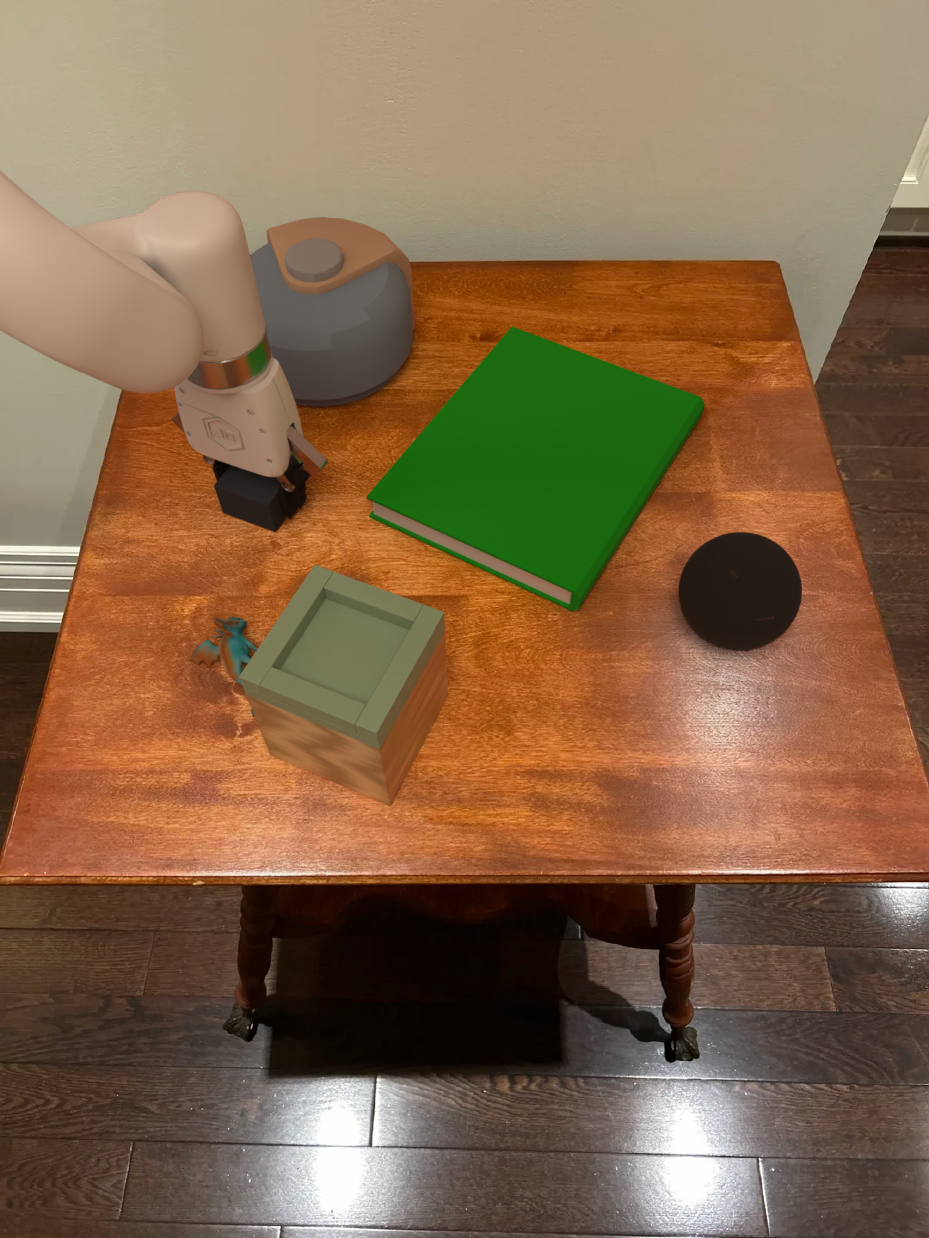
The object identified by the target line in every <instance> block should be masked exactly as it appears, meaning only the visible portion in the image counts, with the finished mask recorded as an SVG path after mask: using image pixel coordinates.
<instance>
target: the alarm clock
mask: <svg viewBox="0 0 929 1238" xmlns="http://www.w3.org/2000/svg"><path fill="white" fill-rule="evenodd" d="M266 239H267V243H266V244H264V245H262V246H260V247H259V248H258V249H257V250H255V251H254V252H252V253H251V254H250V258H251V262H252V267H253V271H254V276H255V280H256V285H257V289H258V294H259V298H260V303H261V307H262V312H263V316H264V321H265V325H266V330H267V334H268V339H269V343H270V348H271V352H272V357H273V358H275V359H276V360H278V362H279V364H280V366H281V368H282V370H283V372H284V374H285V377H286V379H287V381H288V384H289V386H290V389H291V392H292V394H293V397H294V400H295V403H296V405H299V406H309V407H317V408H319V407H331V406H332V407H333V406H342V405H346V404H348V403H352V402H356V401H360V400H362V399H364V398H366V397H368V396H370V395H372V394H375V393H377V392H378V391H380V390H381V389H382V388H383V387H385V386H386V385H387V384H388V383H389V382H390V381H392V380H393V379H394V377H395V376H396V374H397V373H398V371H399V370H401V367H402V366H403V365H404V363H405V362H406V360H407V358H408V357H409V355H410V353H411V349H412V345H413V342H414V330H415V329H416V316H415V313H416V312H415V301H414V284H413V270H412V267H411V264H410V263H411V262H410V259H409V257H408V256H407V255H406V254H405V253H404V252H403V250H401V248H399V246H398V245H397V244H395V242H394V241H392V239H391V238H390V237H388V235H386V234H385V232H383V231H380V230H378V229H376V228H374V227H372V226H369V225H367V224H364V223H361V222H357V221H353V220H349V219H345V218H343V217H342V218H340V217H339V218H338V217H326V216H321V217H320V216H319V217H318V216H317V217H309V218H300V219H297V220H294V221H289V222H287V223H283V224H279V225H274V226H272V227H269V228H267V229H266Z"/></svg>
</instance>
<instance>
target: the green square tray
mask: <svg viewBox="0 0 929 1238" xmlns="http://www.w3.org/2000/svg"><path fill="white" fill-rule="evenodd" d="M444 632H445V633H446V620H445V612H444V611H443V610H440V609H437V608H435V607H433V606H430V605H427V604H423V603H421V602H418V601H415V600H413V599H410V598H408V597H405V596H402V595H400V594H397V593H394V592H391V591H388V590H386V589H383V588H381V587H378V586H375V585H372V584H369V583H366V582H364V581H361V580H358V579H355V578H353V577H349V576H348V575H345V574H342V573H340V572H336V571H333V570H331V569H328V568H326V567H323V566H320V565H317V564H314V565H313V566H312V567H311V569H310V571H309V572H308V574H307V575H306V576H305V578H304V580H302V582H301V584H300V586H299V587H298V588H297V590H296V591H295V593H294V594H293V596H292V597H291V599H290V601H289V602H288V603H287V605H286V606H285V608H284V609H283V610H282V612H281V614H280V615H279V617H278V618H277V620H275V623H274V624H273V625H272V627H271V628H270V630H269V631H268V632H267V634H266V636H265V638H264V639H263V641H262V642H261V643H260V645H259V646H258V647H257V651H254V654H253V656H251V657H252V658H251V660H250V661H249V663H248V664H247V663H246V666H244V668H245V669H244V670H243V672H241V675H240V676H239V678H240V681H241V683H242V685H241V686H242V689H243V691H244V694H245V696H246V695H249V696H251V697H253V698H256V699H258V700H261V701H263V702H266V703H268V704H270V705H273V706H275V707H278V708H280V709H283V710H285V711H288V712H290V713H292V714H295V715H297V716H300V717H302V718H305V719H307V720H309V721H312V722H314V723H317V724H319V725H322V726H324V727H326V728H329V729H331V730H334V731H336V732H339V733H341V734H343V735H346V736H348V737H351V738H353V739H356V740H358V741H360V742H363V743H365V744H368V745H370V746H373V747H375V748H377V749H380V748H381V746H382V744H383V743H384V741H385V739H386V737H387V735H388V733H389V732H390V730H391V728H392V726H393V724H394V723H395V721H396V719H397V717H398V715H399V713H400V712H401V710H402V708H403V706H404V704H405V703H406V701H407V699H408V697H409V695H410V693H411V692H412V690H413V688H414V686H415V684H416V683H417V681H418V679H419V677H420V675H421V674H422V672H423V670H424V668H425V666H426V664H427V663H428V661H429V659H430V657H431V655H432V654H433V652H434V650H435V648H436V646H437V644H438V643H439V641H440V639H441V637H442V635H443V634H444Z"/></svg>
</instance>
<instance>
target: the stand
mask: <svg viewBox="0 0 929 1238" xmlns="http://www.w3.org/2000/svg"><path fill="white" fill-rule="evenodd" d="M446 641H447V640H446V631H445V632H444V634H443V635H442V637H441V639H440V641H439V643H438V644H437V646H436V648H435V650H434V652H433V654H432V655H431V657H430V659H429V661H428V663H427V664H426V666H425V668H424V670H423V672H422V674H421V675H420V677H419V679H418V681H417V683H416V684H415V686H414V688H413V690H412V692H411V693H410V695H409V697H408V699H407V701H406V703H405V704H404V706H403V708H402V710H401V712H400V713H399V715H398V717H397V719H396V721H395V723H394V724H393V726H392V728H391V730H390V732H389V733H388V735H387V737H386V739H385V741H384V743H383V744H382V746H381V748H380V749H377V748H375V747H373V746H370V745H368V744H365V743H363V742H360V741H358V740H356V739H353V738H351V737H348V736H346V735H343V734H341V733H339V732H336V731H334V730H331V729H329V728H326V727H324V726H322V725H319V724H317V723H314V722H312V721H309V720H307V719H305V718H302V717H300V716H297V715H295V714H292V713H290V712H288V711H285V710H283V709H280V708H278V707H275V706H273V705H270V704H268V703H266V702H263V701H261V700H258V699H256V698H253V697H251V696H249V695H246V694H245V696H246V699H247V701H248V703H249V706H250V709H251V708H252V711H253V713H254V718H255V721H256V723H257V726H258V728H259V731H260V734H261V736H262V738H263V741H264V743H265V746H266V748H267V751H268V753H269V755H270V756H271V757H274V758H276V759H278V760H281V761H283V762H286V763H288V764H290V765H292V766H294V767H297V768H299V769H302V770H304V771H307V772H308V773H311V774H313V775H316V776H318V777H321V778H323V779H325V780H328V781H330V782H333V783H334V784H337V785H339V786H341V787H344V788H347V789H348V790H351V791H353V792H356V793H358V794H360V795H363V796H365V797H367V798H370V799H373V800H375V801H377V802H379V803H382V804H384V805H386V806H388V807H391V806H392V804H393V802H394V801H395V798H396V796H397V795H398V793H399V791H400V789H401V786H402V785H403V783H404V782H405V778H406V777H407V775H408V773H409V772H410V770H411V768H412V765H413V764H414V762H415V761H416V758H417V756H418V754H419V752H420V750H421V749H422V747H423V745H424V743H425V742H426V739H427V737H428V735H429V734H430V732H431V729H432V727H433V726H434V723H435V722H436V720H437V718H438V717H439V714H440V713H441V710H442V709H443V706H444V704H445V703H446V701H447V699H448V697H449V683H448V681H449V680H448V663H447V660H448V659H447V642H446Z"/></svg>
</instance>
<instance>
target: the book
mask: <svg viewBox="0 0 929 1238" xmlns="http://www.w3.org/2000/svg"><path fill="white" fill-rule="evenodd" d="M705 405H706V403H705V401H704V400H703V398H702V397H701V396H700V395H698V394H694V393H693V392H692V393H691V392H689V391H686V390H683V389H681V388H678V387H675V386H673V385H670V384H667V383H665V382H662V381H660V380H657V379H654V378H652V377H649V376H646V375H643V374H641V373H638V372H635V371H633V370H630V369H627V368H625V367H622V366H620V365H617V364H614V363H611V362H609V361H606V360H603V359H601V358H598V357H595V356H593V355H590V354H587V353H585V352H582V351H580V350H578V349H574V348H571V347H569V346H565V345H563V344H561V343H558V342H555V341H552V340H550V339H547V338H545V337H542V336H539V335H536V334H533V333H531V332H530V331H529V332H528V331H526V330H523V329H521V328H518V327H515V326H510V328H509V329H508V330H507V331H506V333H504V335H503V336H502V337H501V338H500V339H499V341H498V342H496V344H495V346H493V348H492V349H491V350H490V351H489V353H488V354H486V356H485V357H484V359H482V361H480V363H479V364H478V365H477V366H476V368H474V370H473V371H472V372H471V373H470V375H469V376H468V377H467V378H466V379H465V381H464V382H463V383H462V384H461V385H460V386H459V387H458V389H457V390H456V391H455V392H454V393H453V395H451V397H450V398H449V399H448V400H447V401H446V402H445V404H444V405H443V406H442V407H441V408H440V410H439V411H438V412H437V414H435V416H433V418H431V420H430V421H429V422H428V423H427V425H426V426H425V427H424V428H423V429H422V431H420V433H419V434H418V435H417V437H416V438H415V439H414V440H413V441H412V442H411V444H410V445H409V446H408V447H407V448H406V449H405V450H404V452H403V453H402V454H401V455H400V457H399V458H398V459H397V460H396V461H395V462H394V463H393V465H392V466H391V467H390V468H389V469H388V470H387V471H386V473H385V474H384V475H383V476H382V477H381V478H380V480H378V482H377V483H376V484H375V485H374V487H373V488H372V489H371V490H370V492H369V493H368V494H367V495H366V497H365V498H366V500H368V501H370V502H371V503H372V504H371V505H372V511H371V512H370V513H369V514H368V517H369V518H370V519H372V520H375V521H376V522H378V523H380V524H382V525H385V526H387V527H389V528H392V529H394V530H395V531H398V532H400V533H402V534H404V535H407V536H409V537H411V538H413V539H415V540H417V541H419V542H422V543H423V544H426V545H428V546H431V547H433V548H435V549H437V550H439V551H441V552H443V553H445V554H448V555H450V556H452V557H454V558H456V559H459V560H460V561H462V562H465V563H467V564H469V565H471V566H473V567H476V568H477V569H480V570H482V571H484V572H486V573H488V574H491V575H493V576H495V577H497V578H499V579H502V581H503V580H504V581H505V582H508V583H510V584H512V585H515V586H516V587H519V588H521V589H523V590H525V591H527V592H530V593H531V594H534V595H536V596H538V597H539V598H542V599H545V600H547V601H548V602H551V603H553V604H555V605H558V606H560V607H562V608H564V609H566V610H567V611H570V612H574V611H579V610H580V608H581V607H582V605H583V604H584V603H585V600H586V598H587V597H588V596H589V594H590V592H591V591H592V589H593V588H594V586H595V584H596V583H597V582H598V580H599V578H600V577H601V575H602V574H603V572H604V570H605V569H606V567H607V566H608V564H609V563H610V561H611V560H612V558H613V556H614V555H615V553H616V551H617V550H618V549H619V547H620V545H621V544H622V542H623V541H624V539H625V538H626V536H627V535H628V533H629V531H630V529H631V528H632V527H633V525H634V523H635V521H636V520H637V518H638V517H639V516H640V514H641V512H642V511H643V509H644V507H645V506H646V505H647V503H648V501H649V500H650V498H651V496H652V495H653V493H654V492H655V491H656V489H657V487H658V485H659V484H660V483H661V481H662V479H663V477H664V476H665V474H666V473H667V471H668V470H669V468H670V467H671V465H672V463H673V462H674V460H675V458H676V457H677V456H678V454H679V452H680V451H681V449H682V448H683V446H684V445H685V443H686V441H687V440H688V438H689V437H690V435H691V433H692V432H693V430H694V429H695V427H696V426H697V424H698V422H699V421H700V419H701V418H702V416H703V413H704V409H705Z"/></svg>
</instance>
